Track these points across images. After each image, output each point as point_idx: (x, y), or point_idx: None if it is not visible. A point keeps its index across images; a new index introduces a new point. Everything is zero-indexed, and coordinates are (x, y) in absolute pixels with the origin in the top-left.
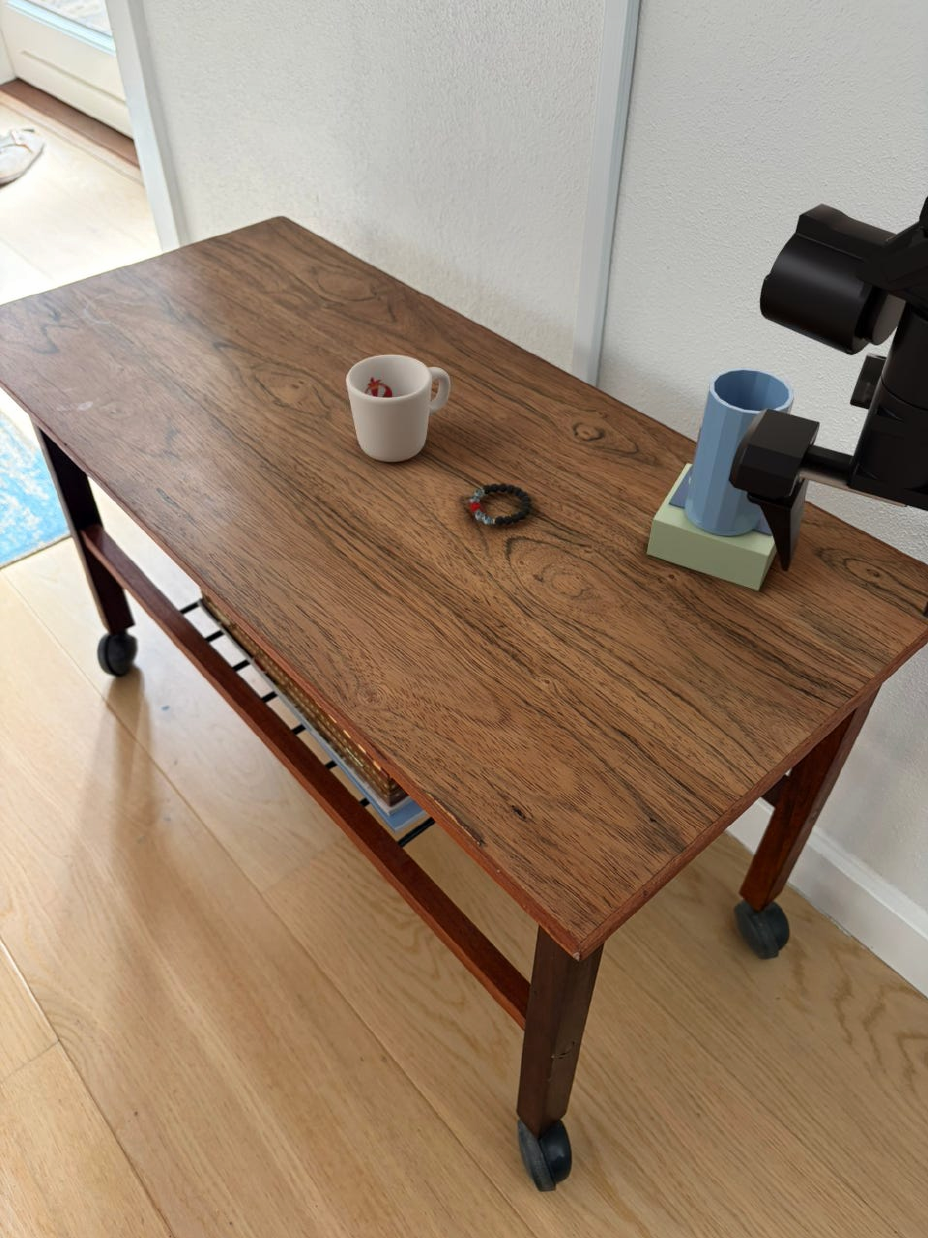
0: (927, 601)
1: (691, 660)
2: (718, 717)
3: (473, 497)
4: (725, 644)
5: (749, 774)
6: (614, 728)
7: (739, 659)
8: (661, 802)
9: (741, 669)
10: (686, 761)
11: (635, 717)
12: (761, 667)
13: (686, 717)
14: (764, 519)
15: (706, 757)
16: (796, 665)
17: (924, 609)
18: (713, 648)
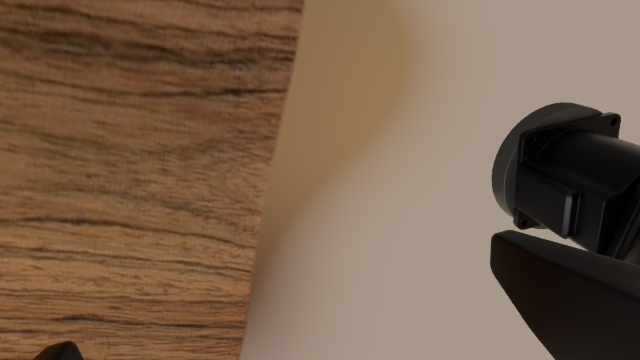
0: (504, 245)
1: (44, 147)
2: (157, 217)
3: None
4: (62, 74)
5: (242, 265)
6: (57, 319)
7: (106, 93)
8: (182, 355)
9: (124, 112)
10: (168, 298)
11: (65, 289)
12: (147, 86)
13: (121, 245)
14: None
15: (185, 279)
16: (192, 43)
17: (493, 252)
18: (53, 97)
